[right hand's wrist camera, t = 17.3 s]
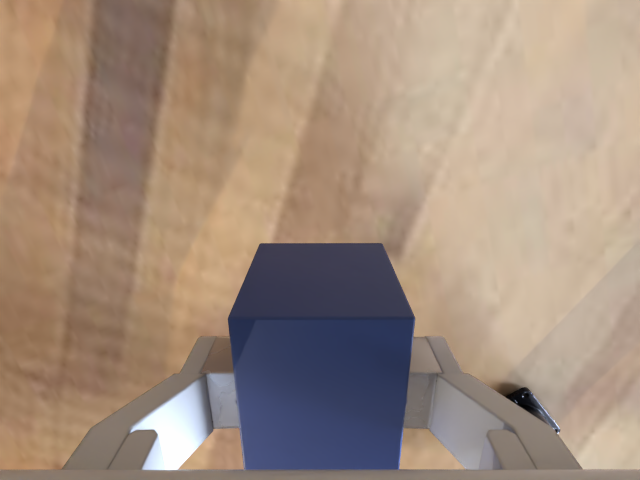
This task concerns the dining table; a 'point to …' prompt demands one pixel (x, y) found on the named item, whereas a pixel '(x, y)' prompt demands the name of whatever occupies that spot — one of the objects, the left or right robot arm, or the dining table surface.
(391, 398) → the brick
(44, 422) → the dining table surface
